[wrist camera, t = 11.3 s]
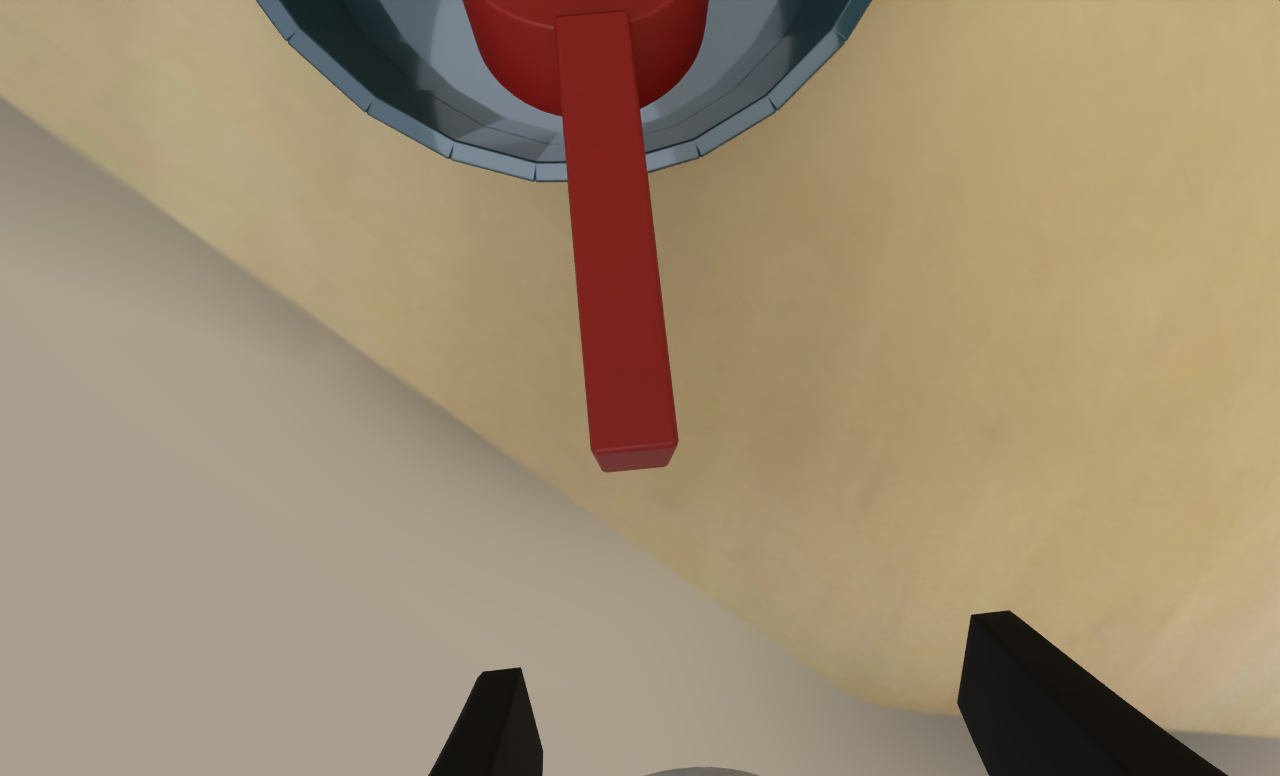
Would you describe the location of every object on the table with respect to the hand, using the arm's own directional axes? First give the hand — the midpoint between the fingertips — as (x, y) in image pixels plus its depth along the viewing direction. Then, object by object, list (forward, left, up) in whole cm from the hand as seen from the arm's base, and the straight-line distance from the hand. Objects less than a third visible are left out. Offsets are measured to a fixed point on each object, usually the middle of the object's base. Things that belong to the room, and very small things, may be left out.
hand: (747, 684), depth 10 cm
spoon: (+4, +7, -6) cm, 10 cm away
